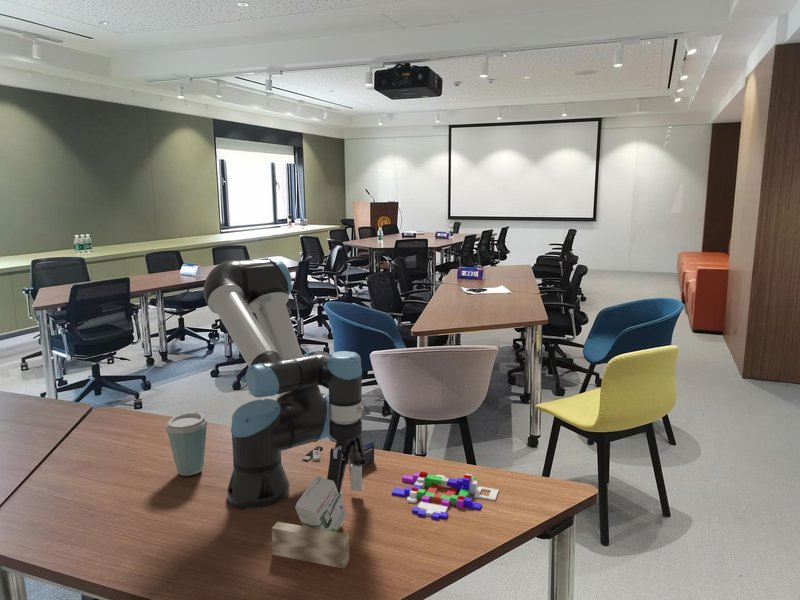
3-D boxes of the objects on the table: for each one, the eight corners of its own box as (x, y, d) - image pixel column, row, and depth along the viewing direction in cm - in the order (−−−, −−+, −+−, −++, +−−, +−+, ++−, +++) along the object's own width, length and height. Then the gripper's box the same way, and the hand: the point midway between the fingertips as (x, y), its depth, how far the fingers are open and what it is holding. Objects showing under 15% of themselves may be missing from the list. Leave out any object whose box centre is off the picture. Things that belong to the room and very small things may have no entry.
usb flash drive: (316, 448, 169) (316, 445, 169) (332, 451, 167) (332, 448, 167) (301, 460, 161) (301, 457, 161) (317, 463, 159) (317, 460, 159)
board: (272, 554, 117) (271, 528, 116) (278, 547, 120) (277, 521, 119) (344, 568, 113) (344, 541, 112) (349, 561, 115) (349, 534, 114)
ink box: (328, 548, 120) (313, 514, 113) (308, 541, 122) (293, 507, 116) (347, 514, 126) (334, 479, 119) (329, 508, 128) (315, 474, 122)
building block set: (381, 510, 136) (381, 492, 135) (409, 472, 155) (409, 457, 154) (484, 530, 128) (485, 512, 127) (500, 488, 147) (501, 472, 146)
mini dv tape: (353, 472, 154) (353, 451, 153) (349, 470, 155) (349, 450, 154) (374, 462, 160) (374, 442, 159) (370, 460, 161) (370, 440, 160)
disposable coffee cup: (192, 482, 147) (188, 427, 145) (159, 475, 151) (155, 422, 149) (218, 465, 157) (215, 413, 155) (186, 459, 161) (183, 408, 158)
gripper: (341, 441, 119) (342, 534, 122) (377, 402, 142) (377, 481, 146) (308, 437, 121) (310, 529, 124) (349, 399, 144) (350, 477, 148)
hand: (346, 503), depth 135 cm, fingers open, 13 cm apart
